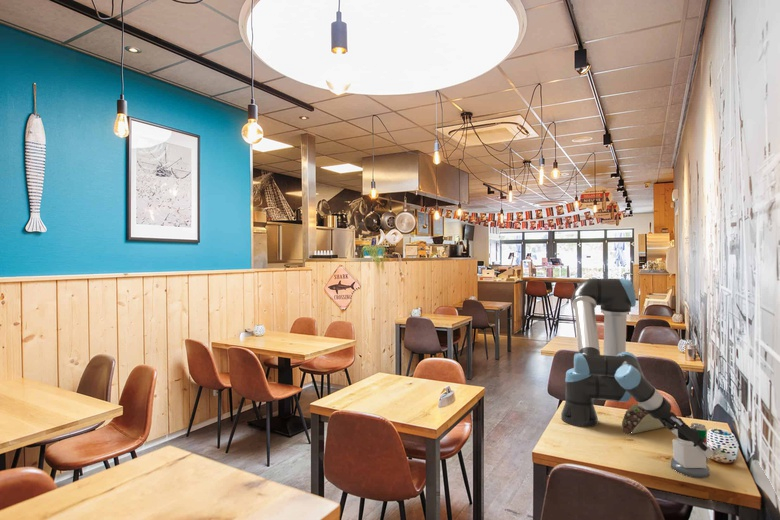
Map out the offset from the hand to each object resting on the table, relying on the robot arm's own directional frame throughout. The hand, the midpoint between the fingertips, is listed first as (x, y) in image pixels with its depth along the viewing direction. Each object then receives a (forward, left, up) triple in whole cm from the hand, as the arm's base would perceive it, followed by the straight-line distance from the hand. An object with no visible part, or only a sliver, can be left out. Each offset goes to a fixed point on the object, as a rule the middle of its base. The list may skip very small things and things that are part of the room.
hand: (698, 448), depth 151 cm
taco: (-36, -8, -8) cm, 38 cm away
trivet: (+1, -3, -8) cm, 8 cm away
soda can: (-11, +3, -8) cm, 14 cm away
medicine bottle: (+1, -3, -6) cm, 6 cm away
